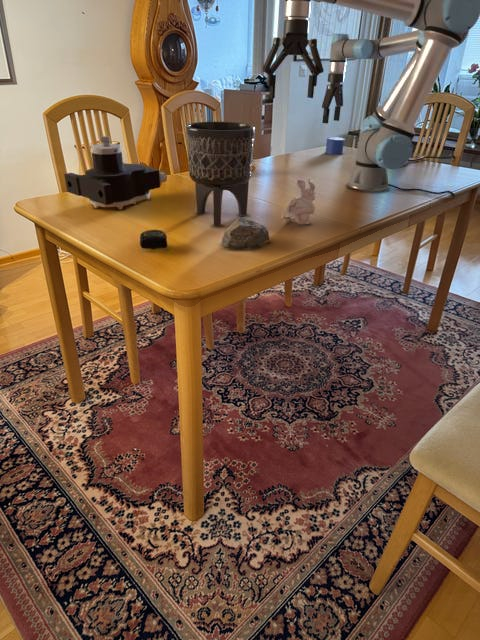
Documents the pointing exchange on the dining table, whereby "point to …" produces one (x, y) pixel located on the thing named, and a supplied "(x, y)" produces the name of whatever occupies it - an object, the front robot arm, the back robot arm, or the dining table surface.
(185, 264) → the dining table surface
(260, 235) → the rock
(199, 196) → the planter
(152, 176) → the mechanical component
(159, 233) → the tape measure
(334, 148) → the blue cylinder
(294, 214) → the figurine
